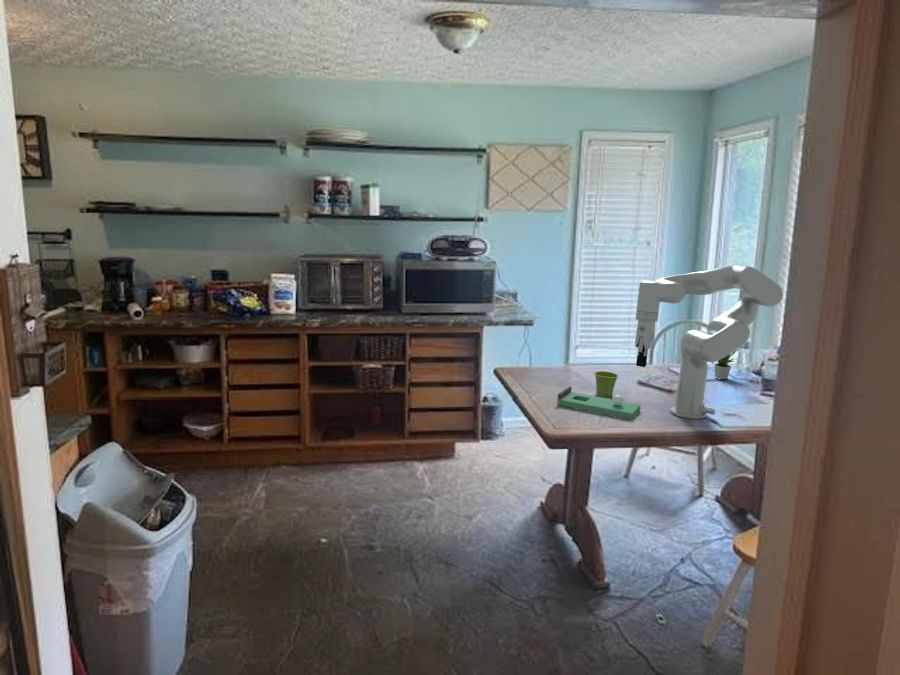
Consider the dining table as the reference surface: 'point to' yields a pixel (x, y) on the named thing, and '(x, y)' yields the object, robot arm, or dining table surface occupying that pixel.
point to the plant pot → (605, 383)
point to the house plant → (723, 366)
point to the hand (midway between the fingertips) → (641, 366)
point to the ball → (618, 400)
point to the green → (597, 404)
